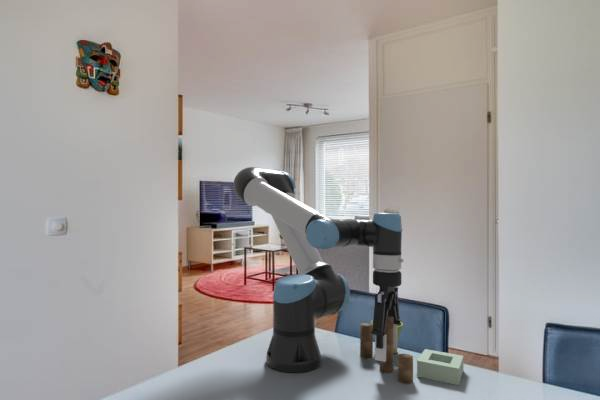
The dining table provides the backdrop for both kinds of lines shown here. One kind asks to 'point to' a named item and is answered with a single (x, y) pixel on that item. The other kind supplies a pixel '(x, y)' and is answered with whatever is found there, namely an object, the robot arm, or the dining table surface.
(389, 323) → the peg long
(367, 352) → the peg medium
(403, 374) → the peg short
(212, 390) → the dining table surface
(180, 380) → the dining table surface
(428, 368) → the hole block
